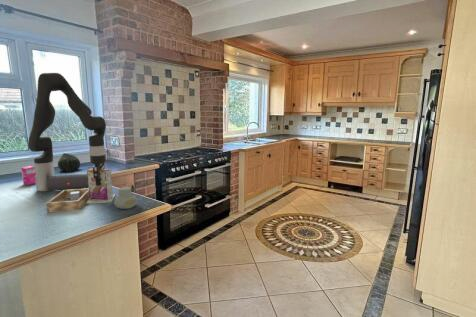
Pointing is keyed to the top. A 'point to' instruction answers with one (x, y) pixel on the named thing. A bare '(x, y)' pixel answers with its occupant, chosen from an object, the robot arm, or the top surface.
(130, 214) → the top surface
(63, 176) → the bluetooth speaker
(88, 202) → the plate
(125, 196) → the air freshener
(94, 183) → the candy bar box
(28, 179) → the supplement box
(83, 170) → the top surface
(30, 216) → the top surface
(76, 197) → the light grey cube
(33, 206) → the top surface
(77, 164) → the squash
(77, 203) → the oak bin
